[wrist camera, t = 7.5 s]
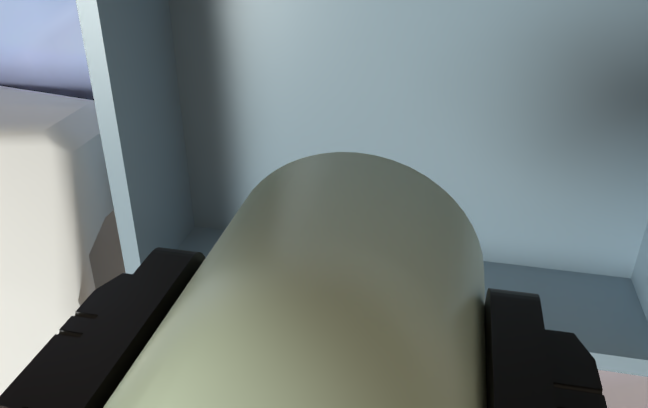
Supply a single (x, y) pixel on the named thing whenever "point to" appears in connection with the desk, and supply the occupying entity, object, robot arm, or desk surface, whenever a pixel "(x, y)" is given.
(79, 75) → the desk surface
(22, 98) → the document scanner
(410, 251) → the mint green capsule
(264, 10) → the bin
